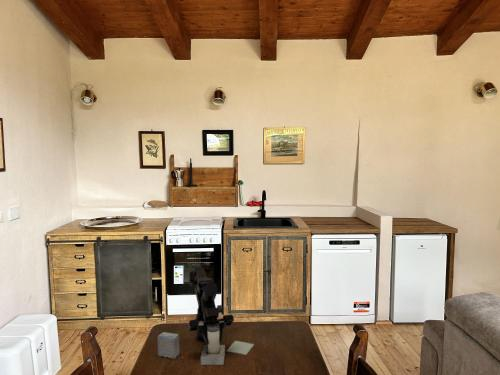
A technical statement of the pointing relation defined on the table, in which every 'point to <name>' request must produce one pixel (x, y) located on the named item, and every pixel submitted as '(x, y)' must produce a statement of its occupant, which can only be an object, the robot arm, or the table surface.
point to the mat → (240, 347)
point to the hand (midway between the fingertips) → (214, 343)
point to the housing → (212, 356)
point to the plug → (213, 339)
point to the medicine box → (168, 345)
